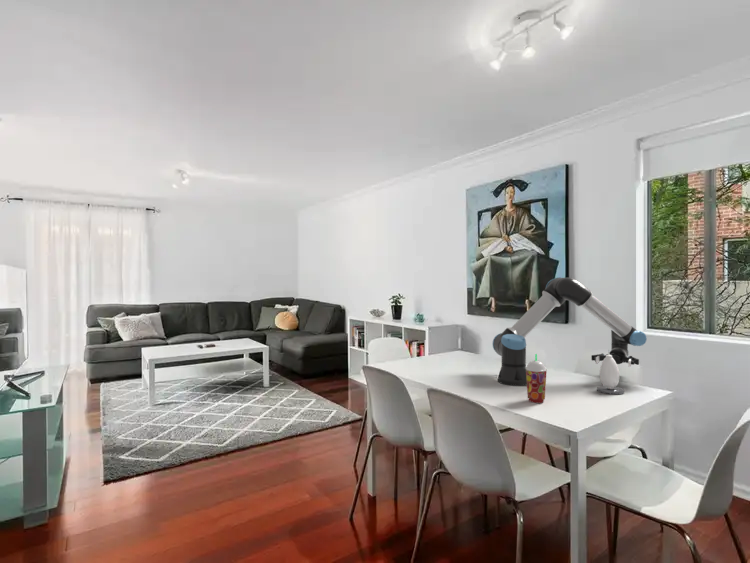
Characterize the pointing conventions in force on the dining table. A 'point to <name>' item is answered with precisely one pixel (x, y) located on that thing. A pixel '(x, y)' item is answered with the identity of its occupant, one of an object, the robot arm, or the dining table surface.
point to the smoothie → (536, 381)
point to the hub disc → (610, 390)
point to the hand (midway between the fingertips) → (612, 362)
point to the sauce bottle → (609, 372)
